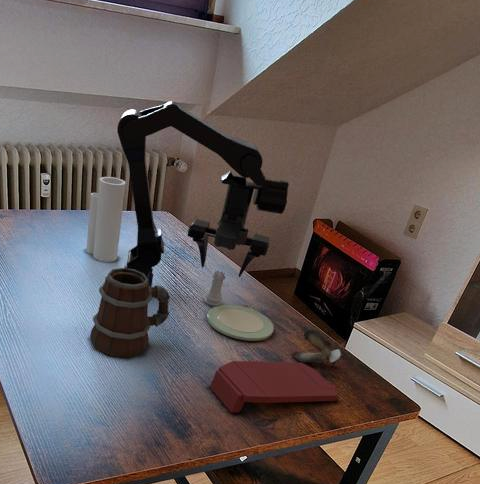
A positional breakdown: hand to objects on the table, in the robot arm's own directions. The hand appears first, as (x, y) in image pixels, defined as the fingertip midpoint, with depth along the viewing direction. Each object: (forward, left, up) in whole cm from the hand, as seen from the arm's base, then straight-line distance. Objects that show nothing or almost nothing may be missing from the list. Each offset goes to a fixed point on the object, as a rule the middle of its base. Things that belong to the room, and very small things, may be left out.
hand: (221, 271), depth 129 cm
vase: (-16, +33, -8) cm, 38 cm away
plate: (0, -11, -8) cm, 14 cm away
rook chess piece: (0, 0, -8) cm, 9 cm away
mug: (-30, -12, -8) cm, 34 cm away
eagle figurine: (+8, -30, -9) cm, 32 cm away
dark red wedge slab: (-10, -36, -8) cm, 39 cm away
